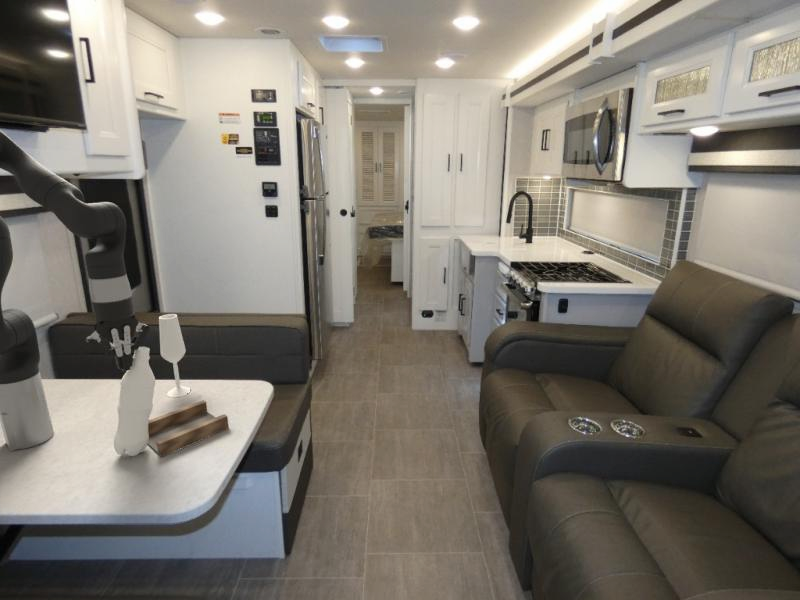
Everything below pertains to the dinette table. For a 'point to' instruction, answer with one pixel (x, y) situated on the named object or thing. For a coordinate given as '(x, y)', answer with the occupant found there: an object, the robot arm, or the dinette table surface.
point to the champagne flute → (172, 349)
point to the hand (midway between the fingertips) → (125, 369)
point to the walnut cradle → (183, 428)
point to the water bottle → (135, 405)
